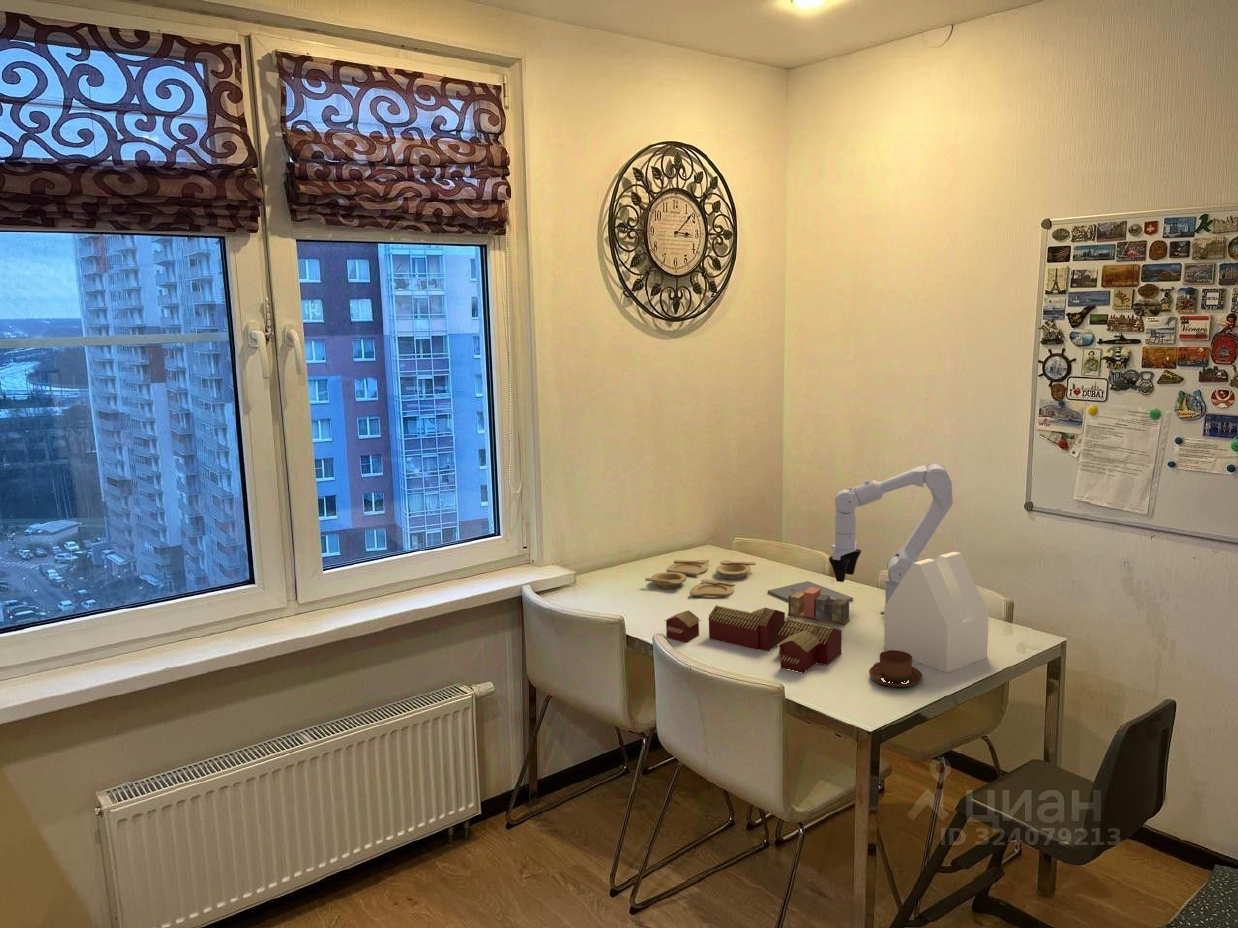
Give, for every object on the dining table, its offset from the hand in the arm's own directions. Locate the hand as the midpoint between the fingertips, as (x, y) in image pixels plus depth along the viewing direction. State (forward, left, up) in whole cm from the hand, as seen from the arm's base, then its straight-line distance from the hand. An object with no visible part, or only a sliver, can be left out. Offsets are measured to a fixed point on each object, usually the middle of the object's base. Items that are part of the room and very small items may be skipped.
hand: (844, 577), depth 261 cm
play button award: (+13, -5, -10) cm, 17 cm away
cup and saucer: (-28, +41, -10) cm, 50 cm away
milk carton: (-31, +20, -10) cm, 38 cm away
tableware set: (+50, -4, -10) cm, 51 cm away
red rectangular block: (+6, +11, -8) cm, 15 cm away
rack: (+4, +11, -9) cm, 15 cm away
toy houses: (+12, +38, -10) cm, 41 cm away
